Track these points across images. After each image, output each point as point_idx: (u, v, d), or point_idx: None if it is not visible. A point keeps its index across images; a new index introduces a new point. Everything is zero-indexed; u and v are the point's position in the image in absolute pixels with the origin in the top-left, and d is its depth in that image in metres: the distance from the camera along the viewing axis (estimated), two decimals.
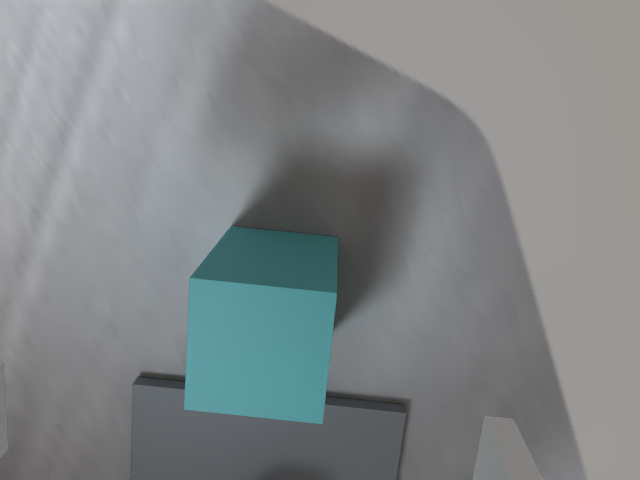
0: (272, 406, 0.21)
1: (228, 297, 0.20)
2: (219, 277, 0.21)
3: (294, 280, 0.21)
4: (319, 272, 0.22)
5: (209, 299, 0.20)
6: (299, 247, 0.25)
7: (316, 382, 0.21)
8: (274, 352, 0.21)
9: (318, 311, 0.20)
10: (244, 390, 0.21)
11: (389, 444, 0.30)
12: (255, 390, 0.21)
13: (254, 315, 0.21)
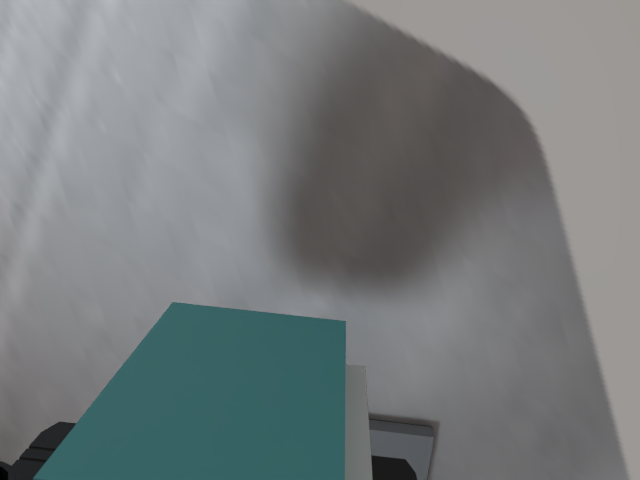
0: None
1: None
2: (100, 469, 0.10)
3: (257, 468, 0.10)
4: (310, 433, 0.12)
5: None
6: (279, 355, 0.15)
7: None
8: None
9: None
10: None
11: None
12: None
13: None
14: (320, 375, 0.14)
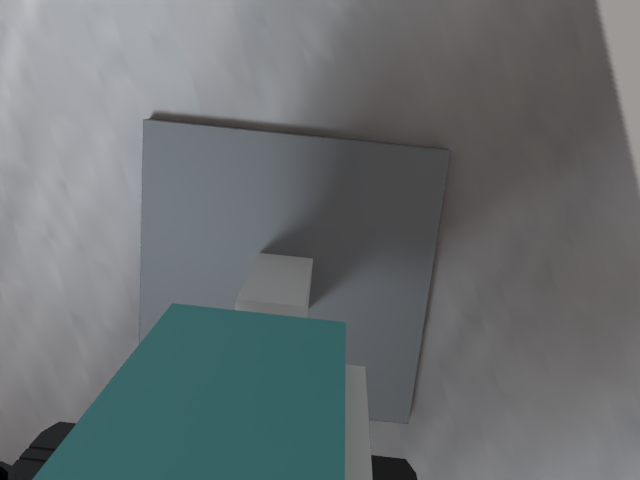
0: None
1: None
2: (99, 472, 0.10)
3: (257, 471, 0.10)
4: (310, 435, 0.12)
5: None
6: (279, 357, 0.15)
7: None
8: None
9: None
10: None
11: (431, 190, 0.27)
12: None
13: None
14: (320, 376, 0.14)
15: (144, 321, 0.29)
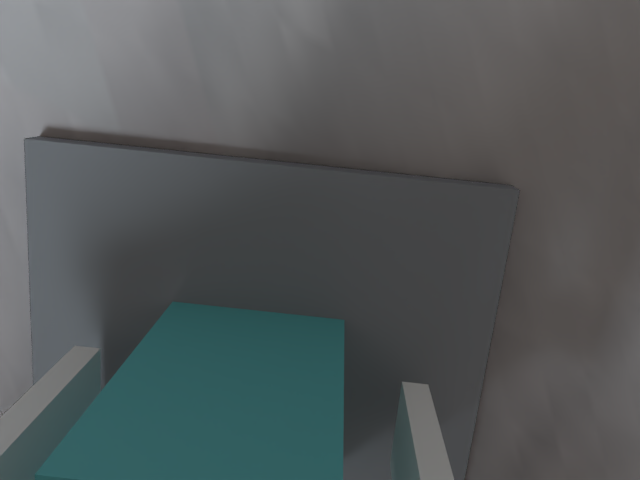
0: None
1: None
2: (101, 465, 0.10)
3: (256, 464, 0.10)
4: (309, 430, 0.12)
5: None
6: (278, 353, 0.15)
7: None
8: None
9: None
10: None
11: (486, 252, 0.17)
12: None
13: None
14: (319, 373, 0.14)
15: None
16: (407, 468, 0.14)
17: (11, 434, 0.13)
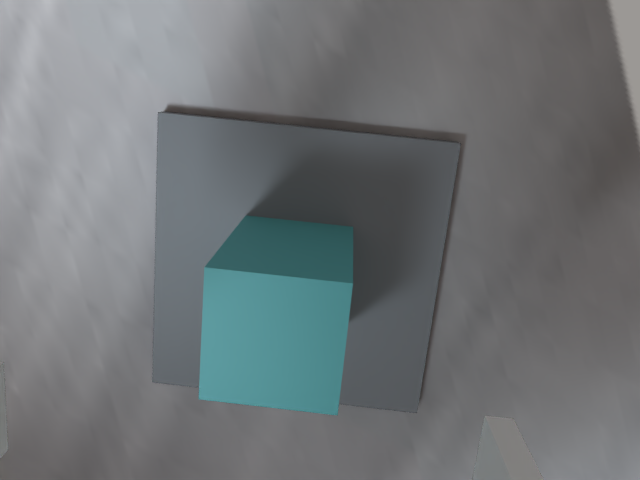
0: (287, 397, 0.21)
1: (242, 287, 0.20)
2: (234, 267, 0.21)
3: (309, 270, 0.21)
4: (334, 262, 0.22)
5: (224, 289, 0.20)
6: (314, 237, 0.25)
7: (332, 374, 0.21)
8: (290, 342, 0.21)
9: (334, 301, 0.20)
10: (259, 380, 0.21)
11: (441, 182, 0.27)
12: (270, 381, 0.21)
13: (269, 305, 0.20)
14: (339, 245, 0.24)
15: (158, 310, 0.29)
16: None
17: None
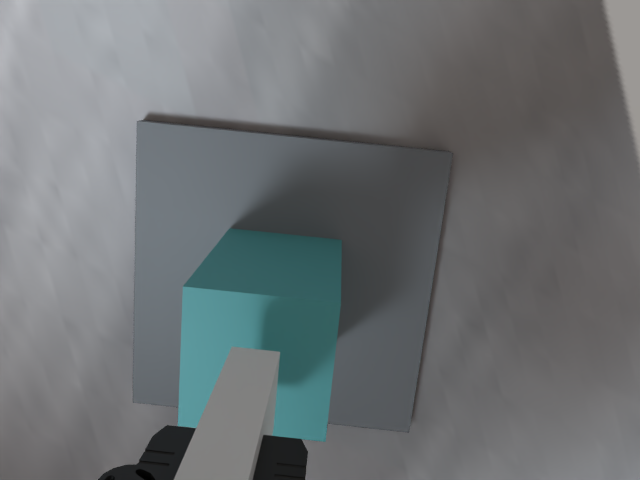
0: None
1: (224, 307, 0.19)
2: (214, 285, 0.19)
3: (295, 288, 0.20)
4: (322, 279, 0.21)
5: (204, 309, 0.19)
6: (301, 252, 0.24)
7: (319, 398, 0.20)
8: None
9: (320, 322, 0.19)
10: None
11: (433, 194, 0.26)
12: None
13: (252, 326, 0.19)
14: (326, 260, 0.23)
15: (138, 327, 0.28)
16: None
17: (221, 429, 0.13)
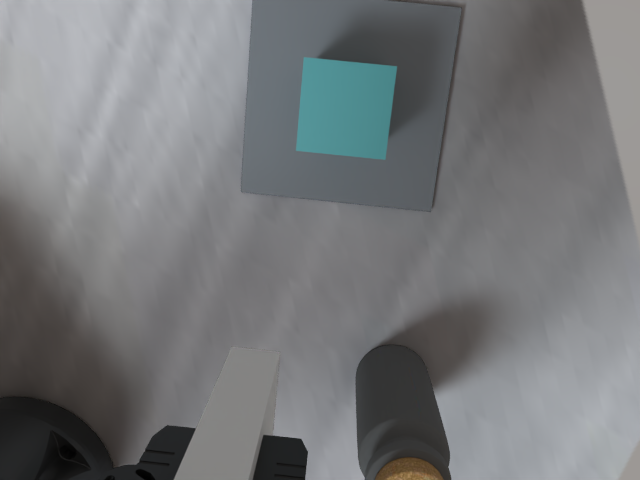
0: (353, 147, 0.33)
1: (327, 70, 0.32)
2: (321, 59, 0.33)
3: None
4: None
5: (316, 72, 0.32)
6: None
7: (382, 130, 0.33)
8: (356, 108, 0.33)
9: (384, 79, 0.32)
10: (335, 136, 0.33)
11: (448, 36, 0.39)
12: (342, 136, 0.33)
13: (343, 82, 0.32)
14: None
15: (247, 135, 0.41)
16: None
17: (221, 429, 0.13)
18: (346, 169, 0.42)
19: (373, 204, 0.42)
